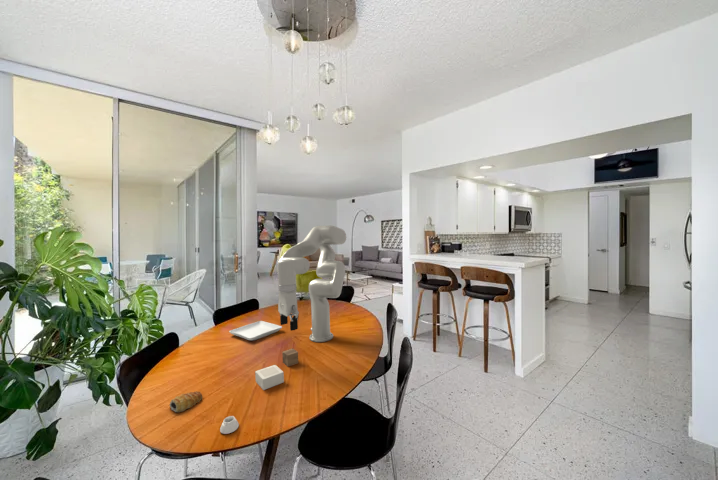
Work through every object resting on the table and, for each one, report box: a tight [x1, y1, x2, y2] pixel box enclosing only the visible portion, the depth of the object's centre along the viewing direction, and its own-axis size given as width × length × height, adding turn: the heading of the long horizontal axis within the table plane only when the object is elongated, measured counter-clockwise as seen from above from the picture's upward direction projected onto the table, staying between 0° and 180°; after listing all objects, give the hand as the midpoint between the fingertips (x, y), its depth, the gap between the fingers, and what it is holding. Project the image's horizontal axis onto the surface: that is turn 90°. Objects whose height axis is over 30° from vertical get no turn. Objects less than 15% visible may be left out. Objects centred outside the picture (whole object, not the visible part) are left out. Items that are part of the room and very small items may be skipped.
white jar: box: [219, 415, 240, 435], centre depth 85 cm, size 5×3×5 cm
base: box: [254, 364, 285, 391], centre depth 110 cm, size 8×8×4 cm
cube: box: [281, 348, 299, 367], centre depth 125 cm, size 5×5×5 cm
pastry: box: [169, 391, 203, 413], centre depth 97 cm, size 9×7×4 cm
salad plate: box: [228, 320, 283, 341], centre depth 161 cm, size 21×21×3 cm
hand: (288, 326), depth 124 cm, fingers open, 9 cm apart
